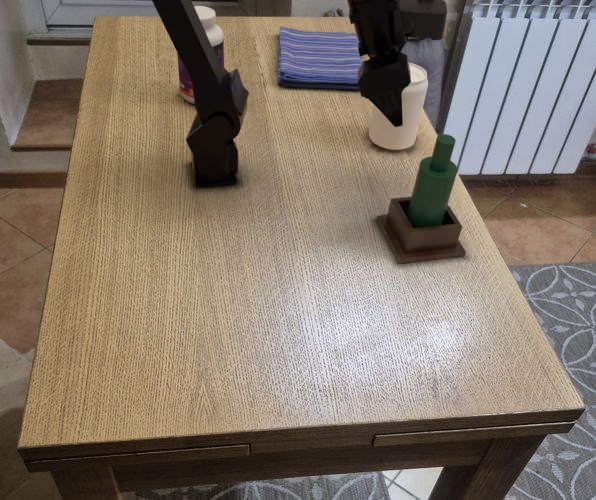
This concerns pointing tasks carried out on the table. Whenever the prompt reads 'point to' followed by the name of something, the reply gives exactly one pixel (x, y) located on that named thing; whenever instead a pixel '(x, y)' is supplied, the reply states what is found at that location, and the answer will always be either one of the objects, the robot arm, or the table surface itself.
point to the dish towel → (318, 59)
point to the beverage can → (411, 112)
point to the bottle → (433, 185)
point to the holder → (420, 235)
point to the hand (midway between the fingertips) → (398, 109)
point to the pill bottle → (217, 43)
